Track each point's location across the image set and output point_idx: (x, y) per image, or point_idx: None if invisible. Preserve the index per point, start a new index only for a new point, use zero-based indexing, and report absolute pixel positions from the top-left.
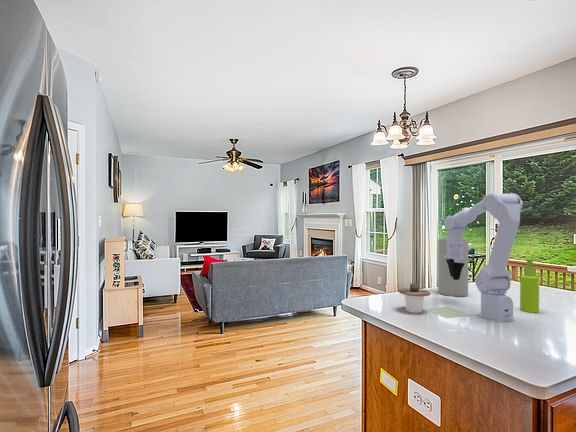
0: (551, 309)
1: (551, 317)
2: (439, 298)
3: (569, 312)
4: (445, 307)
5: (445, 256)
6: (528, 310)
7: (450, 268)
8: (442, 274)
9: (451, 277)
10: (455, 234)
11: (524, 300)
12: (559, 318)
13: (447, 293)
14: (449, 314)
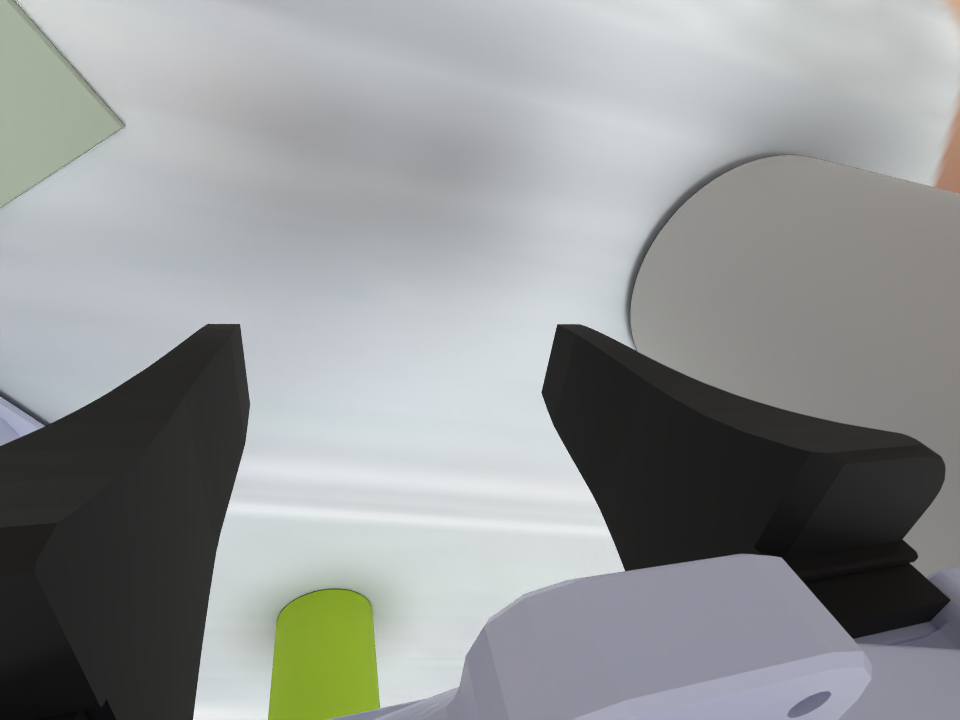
0: (400, 676)
1: (208, 676)
2: (559, 109)
3: None
4: (27, 58)
5: (492, 692)
6: (278, 625)
7: (631, 401)
8: (894, 247)
9: (769, 337)
10: None
11: (287, 671)
12: (205, 696)
13: (674, 225)
14: None
